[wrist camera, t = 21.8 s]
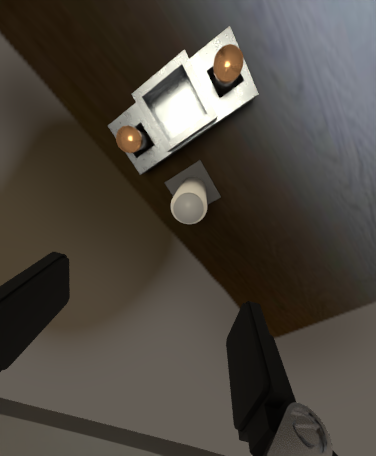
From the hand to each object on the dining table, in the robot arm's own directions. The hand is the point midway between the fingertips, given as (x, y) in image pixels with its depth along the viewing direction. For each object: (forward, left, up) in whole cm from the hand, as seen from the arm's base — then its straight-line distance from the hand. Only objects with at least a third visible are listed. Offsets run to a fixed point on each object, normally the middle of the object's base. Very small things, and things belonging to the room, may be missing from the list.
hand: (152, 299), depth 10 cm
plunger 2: (+12, -13, -30) cm, 35 cm away
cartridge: (0, 0, -30) cm, 30 cm away
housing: (+12, -5, -30) cm, 33 cm away
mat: (0, 0, -30) cm, 30 cm away
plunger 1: (+12, +3, -30) cm, 32 cm away
